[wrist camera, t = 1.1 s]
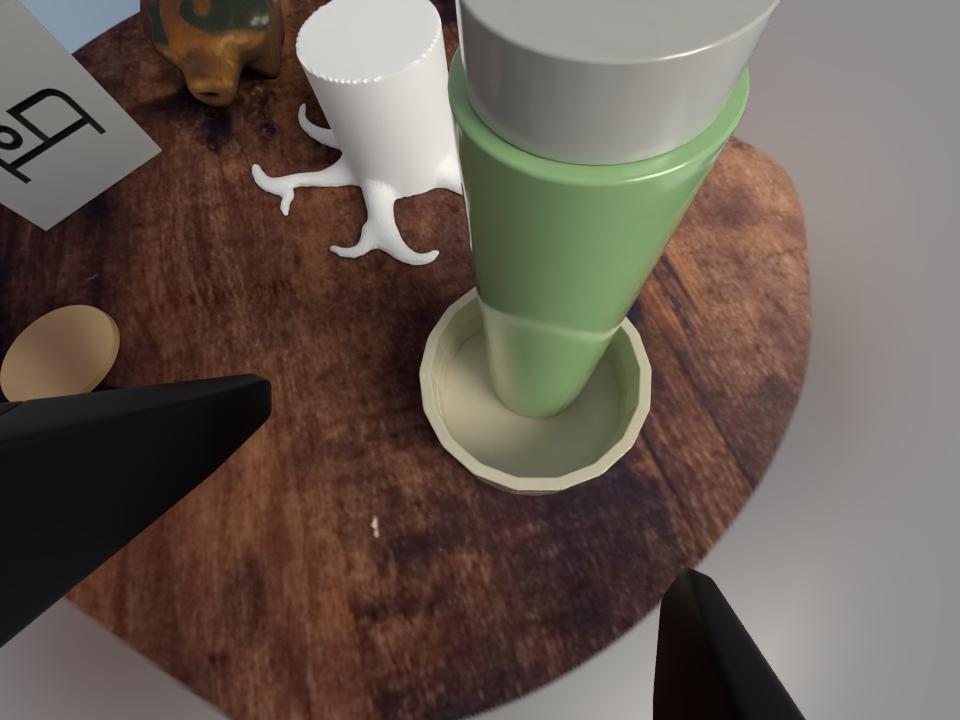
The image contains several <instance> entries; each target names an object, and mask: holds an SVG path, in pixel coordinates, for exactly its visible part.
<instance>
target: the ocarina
mask: <svg viewBox="0 0 960 720" xmlns="http://www.w3.org/2000/svg"><path fill="white" fill-rule="evenodd" d="M140 14H141V22H142V26H143V29H144V32H145V35H146V37H147V39H148V41H149V42H150V44H151V45H152V47H153V48H154V50H155V51H156V52H157V53H158V54H159V55H160V56H161V57H162V58H164V59H165V60H166V61H168V62H169V63H171V64H172V65H174V66H176V67H178V68H180V69H181V70H182V71H183V73H184V76H185V79H186V83H187V86H188V90H189V91H190V92H191V93H192V95H193V96H194V97H195V98H197V99H198V100H200V101H202V102H203V103H206V104H208V105H210V106H213V107H225V106H230V105H231V104H232V103H233V102H234V100H235V98H236V95H237V92H238V85H239V79H240V75H241V72H242V70H243V67H244V66H247V67H249V68H251V69H253V70H254V71H256V72H258V73H260V74H262V75H264V76H267V77H270V78H273V77H276V76H277V75H278V74H279V71H280V63H281V53H282V49H281V45H282V44H283V42H284V39H285V30H284V24H283V14H282V9H281V3H280V0H140Z"/></svg>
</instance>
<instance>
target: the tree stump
mask: <svg viewBox="0 0 960 720" xmlns="http://www.w3.org/2000/svg"><path fill="white" fill-rule="evenodd" d="M296 40H297V43H296V45H295V46H296V49H297V56H298V58H299V60H300V63H301V65H302V67H303V69H304V71H305V73H306V76H307V78H308V80H309V82H310V84H311V86H312V89H313V91H314V93H315V95H316V97H317V99H318V102H319V104H320V106H321V108H322V110H323V112H324V115H325V117H326V119H327V121H328V123H329V125H330V128H331V129H324V128H320V127H317V126H315V125H313V124H312V123H310V122H309V121H308V120H307V118H306V116H305V114H306V105H305V104H302V105H301V106H300V108H299V113H298V118H299V123H300V126H301V127H302V128H303V130H304V131H305V132H307V133H308V134H309V136H310V137H312V138H314V139H315V140H317V141H319V142H320V143H321V144H325V145H327V146H329V147H332V148H336V149H339V150H341V151H342V156H341V158H340V159H339V160H338V161H337V162H336V163H335V164H333V165H332V166H330V167H328V168H326V169H324V170H322V171H318V172H308V173H299V174H292V175H288V176H284V177H278V178H271V177H268V176H266V175H265V173H264V172H263V171H262V170H261V168H260V166H259V165H256V164H254V165H253V166H252V174H253V176H254V179H255V182H256V183H257V184H258V186H260V187H261V188H262V189H263V190H265V191H266V192H270V193H273V194H276V195H279V196H281V197H282V201H281V206H280V209H281V210H282V212H283V214H284V215H288V210H289V206H290V203H291V201H292V200H293V198H294V191H293V189H294V188H296V187H300V186H305V187H309V186H318V187H329V186H333V187H338V186H346V185H356V186H360V187H361V188H362V192H363V196H364V199H365V204H366V208H367V211H368V220H367V222H366V223H365V224H364V225H363V227H362V233H361V238H360V241H359V242H358V244H357V245H356V246H354V247H351V248H341V247H337V246H331V247H330V251H333V252H335V253H337V254H338V255H339V256H344V257H351V258H356V257H358V256H361V255H364V254H366V253H367V252H368V251H370V250H372V249H377V248H378V249H381V250H383V251H385V252H387V253H388V254H390V255H391V256H392V257H394V258H395V259H397V260H400V261H401V262H404V263H408V264H411V265H424V264H427V263H430V262H432V261H434V260H435V258H436V257H437V256H438V254H439V251H435V250H432V251H431V252H428V253H425V254H418V253H415V252H414V251H412V250H411V249H410V248H408V246H407V245H406V244H405V243H404V242H403V240H402V238H401V236H400V234H399V231H398V229H397V227H396V224H395V220H394V214H393V204H394V202H395V200H396V199H399V198H403V197H410V196H412V195H417V194H421V193H424V192H427V191H429V190H431V189H434V188H446V189H449V190H451V191H454V192H456V193H459V194H461V195H462V188H461V181H460V175H459V168H458V161H457V154H456V148H455V141H454V134H453V127H452V120H451V114H450V107H449V100H448V90H447V83H448V70H447V63H446V56H445V48H444V41H443V34H442V27H441V20H440V17H439V14H438V11H437V9H436V8H435V6H434V5H433V4H432V3H431V2H430V1H428V0H332V1H330V2H329V3H328V4H327V5H325V6H321V7H320V8H319V9H318V11H315V12H314V13H313V14H312V16H311V17H309V18H308V20H307V21H305V24H303V25H302V28H300V32H299V33H298V37H297V39H296Z"/></svg>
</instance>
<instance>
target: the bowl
mask: <svg viewBox="0 0 960 720" xmlns="http://www.w3.org/2000/svg"><path fill="white" fill-rule="evenodd" d="M419 372H420V373H419V377H420V385H421V394H422V402H423V409H424V412H425V414H426V416H427V418H428V420H429V422H430V424H431V426H432V428H433V430H434V431H435V433H436V435H437V437H438V439H439V441H440V443H441V445H442V446H443V447H444V448H445V449H446V450H447V451H448V452H449V453H450V454H451V455H452V456H453V457H454V458H455V459H456V460H457V461H458V462H459V463H460V464H461V465H463V466H464V467H465V468H466V469H467V470H468V471H469V472H470V473H471V474H473V475H474V476H475V477H476V478H477V479H478V480H480V481H482V482H484V483H486V484H488V485H490V486H492V487H494V488H496V489H499V490H502V491H505V492H508V493H512V494H518V495H531V496H537V495H546V494H554V493H557V492H560V491H563V490H565V489H568V488H570V487H573V486H575V485H578V484H581V483H583V482H586V481H588V480H590V479H593V478H595V477H597V476H600V475H601V474H603V473H604V472H605V471H606V470H607V469H608V468H610V467H611V466H612V465H613V464H614V463H615V462H616V461H617V460H618V459H619V458H620V457H621V456H622V455H624V454H625V453H626V452H627V451H628V450H629V449H630V448H631V447H632V445H633V444H634V442H635V440H636V438H637V436H638V434H639V432H640V429H641V427H642V425H643V423H644V421H645V418H646V416H647V414H648V412H649V408H650V395H651V366H650V363H649V361H648V358H647V355H646V352H645V349H644V346H643V343H642V340H641V338H640V335H639V333H638V331H637V330H636V328H635V327H634V326H633V325H632V324H631V322H630V321H629V320H628V319H627V317H625V318H624V320H623V322H622V324H621V325H620V327H619V329H618V330H617V332H616V334H615V336H614V337H613V339H612V341H611V342H610V344H609V346H608V348H607V349H606V351H605V353H604V354H603V356H602V358H601V360H600V361H599V363H598V365H597V366H596V368H595V370H594V371H593V373H592V375H591V377H590V378H589V380H588V382H587V383H586V385H585V387H584V389H583V390H582V392H581V394H580V395H579V397H578V399H577V400H576V401H575V403H574V404H573V405H572V406H571V407H569V408H568V409H567V410H565V411H564V412H562V413H560V414H558V415H555V416H553V417H548V418H541V419H538V418H528V417H524V416H521V415H518V414H516V413H514V412H512V411H511V410H509V409H508V408H507V407H505V406H504V405H503V404H502V403H501V402H500V401H499V399H498V398H497V397H496V395H495V393H494V391H493V389H492V386H491V383H490V378H489V371H488V364H487V357H486V351H485V344H484V337H483V330H482V323H481V317H480V310H479V303H478V296H477V290H476V287H474V288H473V289H472V290H470V291H469V292H468V293H466V294H465V295H464V296H462V297H461V298H460V299H458V300H457V301H456V302H454V303H453V304H452V305H450V306H449V308H447V310H446V311H445V313H444V314H443V316H442V317H441V319H440V320H439V322H438V323H437V324H436V326H435V327H434V329H433V330H432V332H431V333H430V335H429V337H428V339H427V343H426V347H425V351H424V355H423V359H422V363H421V367H420V371H419Z"/></svg>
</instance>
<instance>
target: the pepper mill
mask: <svg viewBox="0 0 960 720" xmlns="http://www.w3.org/2000/svg"><path fill="white" fill-rule="evenodd" d="M455 2H456V12H457V21H458V31H459V40H460V45H459V46H458V48H457V50H456V52H455V54H454V57H453V59H452V62H451V66H450V70H449V73H448V83H447V90H448V100H449V107H450V114H451V120H452V127H453V134H454V141H455V148H456V154H457V161H458V168H459V175H460V181H461V188H462V195H463V202H464V208H465V215H466V222H467V229H468V235H469V242H470V249H471V256H472V263H473V269H474V276H475V283H476V290H477V296H478V303H479V310H480V317H481V323H482V330H483V337H484V344H485V351H486V357H487V364H488V371H489V378H490V383H491V386H492V389H493V391H494V393H495V395H496V397H497V398H498V399H499V401H500V402H501V403H502V404H503V405H504V406H505V407H507V408H508V409H509V410H511V411H512V412H514V413H516V414H518V415H521V416H524V417H528V418H538V419H541V418H548V417H553V416H555V415H558V414H560V413H562V412H564V411H565V410H567V409H568V408H569V407H571V406H572V405H573V404H574V403H575V401H576V400H577V399H578V397H579V395H580V394H581V392H582V390H583V389H584V387H585V385H586V383H587V382H588V380H589V378H590V377H591V375H592V373H593V371H594V370H595V368H596V366H597V365H598V363H599V361H600V360H601V358H602V356H603V354H604V353H605V351H606V349H607V348H608V346H609V344H610V342H611V341H612V339H613V337H614V336H615V334H616V332H617V330H618V329H619V327H620V325H621V324H622V322H623V320H624V318H625V317H626V315H627V313H628V312H629V310H630V308H631V307H632V305H633V303H634V301H635V300H636V298H637V296H638V295H639V293H640V291H641V289H642V288H643V286H644V284H645V283H646V281H647V279H648V277H649V276H650V274H651V272H652V271H653V269H654V267H655V266H656V264H657V262H658V260H659V259H660V257H661V255H662V254H663V252H664V250H665V248H666V247H667V245H668V243H669V242H670V240H671V238H672V236H673V235H674V233H675V231H676V230H677V228H678V226H679V225H680V223H681V221H682V219H683V218H684V216H685V214H686V213H687V211H688V209H689V207H690V206H691V204H692V202H693V201H694V199H695V197H696V195H697V194H698V192H699V190H700V189H701V187H702V185H703V183H704V182H705V180H706V178H707V177H708V175H709V173H710V172H711V170H712V168H713V166H714V165H715V163H716V161H717V160H718V158H719V156H720V154H721V153H722V151H723V149H724V148H725V146H726V144H727V142H728V141H729V139H730V137H731V136H732V134H733V132H734V130H735V129H736V127H737V125H738V123H739V121H740V120H741V118H742V116H743V114H744V111H745V108H746V104H747V101H748V94H749V83H750V80H749V71H748V66H747V64H748V62H749V60H750V59H751V57H752V55H753V53H754V51H755V49H756V47H757V45H758V43H759V42H760V39H761V38H762V36H763V34H764V32H765V30H766V28H767V26H768V25H769V23H770V21H771V19H772V17H773V15H774V13H775V11H776V9H777V7H778V5H779V4H780V2H781V0H455Z"/></svg>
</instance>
